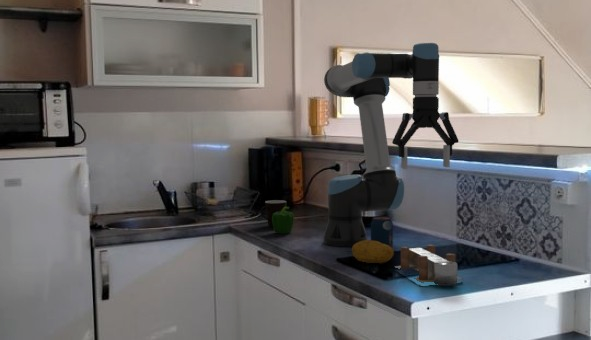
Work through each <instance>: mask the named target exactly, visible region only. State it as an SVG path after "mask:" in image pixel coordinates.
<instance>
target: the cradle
mask: <svg viewBox="0 0 591 340" xmlns="http://www.w3.org/2000/svg"><path fill="white" fill-rule="evenodd" d="M409 249H410V247H409V246H401V247H400V265H398V266H397V265H396V266H394V267H395V268H398V269H400V268H401V269H409ZM426 251H428V252H431V253H433V254H435V255H436V245H434V244H427V245H426ZM445 260H447V261H452V262H456V254H455V253H446V254H445ZM414 279H416V280H417V281H419V282H421V283H424V282H434V280H432V279H430V278H429V277H428V257H427V256H419V277H417V278H414ZM457 279H463V277H460V276H458V275H457Z"/></svg>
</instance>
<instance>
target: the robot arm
mask: <svg viewBox="0 0 591 340" xmlns="http://www.w3.org/2000/svg"><path fill="white" fill-rule="evenodd" d="M439 49H440V48H439V45H438V44H437V43H434V42H420V43H419V42H418V43H415V44H413V46H412V51H411V52H404V53H403V52H387V53H385V52H369V51H368V52H361V53H360V52H359V53H356V54H355V55H354V57H353V58H352V61H350V62H348V63H345V64H344V65H343V64H337V65H334V66H332V67H330V68H329V69H327V71H326V72H325V73H324V77H323V78H324V79H323V82H324V85H325V88H326V89H327V91H329V92H330V93H331V94H332V95H334V96H336V97H341V98H352V99H353V104H354V105H355V106H357V107H358V113H359V121H360V128H361V137H362V143H363V145H362V146H363V151H364V161H365V168H366V170H365V172H364V173H363V174H362V175H361V174H346V175H340V176H336V177H333V178H331V179H329V181H328V186H327V187H328V188H327V189H328V190H327V196H328V200H327V201H328V202H327V203H328V221H327V225H326V228H325V232H324V234H323V243H324V244H326V245H329V246H333V247H353V245H354V244H356V243H358V242H360V241H363V240H368V235H367V232H366V228H365V225H364V222H363V213H364V212H379V211H380V212H381V211H385V212H388V211H392V210H397V209H399V207H400V206H401V205H402V204H403V200H404V195H405V183H404V180H403V178H402V177H400V176H398V175H397V172H396V170H395V169H394V168H392V167H391V160H390V154H389V147H388V146H389V145H388V138H387V131H386V125H385V123H386V122H385V115H384V107H383V104H384V102H385V101H386V97H387V96H388V95H389V92H390V85H391V83H390V82H391V81H390V79H391V78H392V79H400V78H401V79H412V95H413V96H414V97H413V98H412V113H410V112H404V113H402V118H401V119H402V120H401V122H400V124H399V126H398V128H397V131H396V133H395V135H394V136H393V137H394V138H393V140H392V141H391V142H392V144H393V145H396V146H397V147H398V157H399V158H400V161H401V162H400V163H401V165H400V166H401V169H403V170H407V169H408V146H406V145H407V143H408V142H409V141H410V140H411V138H412V136H414V134H415V133H416V132H417V130H419V129H425V128H428V129H429V128H430V129H431V128H432V129H433V130H434V131H435V132H436V133H437V134H438V135H439V138H440V139H441V140H442V141H443V142H444V143H445V144H443V146H442V147H443V148H442V149H443V150H442V153H443V155H442V157H443V158H442V160H443V161H442V166H443V167H444V168H450V167H451V166H450V164H451V163H450V161H451V156H452V155H453V146H454V145H455V144H457V143H459V139H458V136H457V134H456V132H455V129H454V127H453V125H452V123H451V121H450V116H449V112H448V111H446V112H445V111H443V112H440V113H439V107H440V106H439V105H440V104H439V101H440V99H439V97H438V95H439V91H440V90H439V85H440V81H439V76H440V69H439V68H440V67H439V66H440V54H439ZM411 120H413V122H412V123H411V125H410V127H409V128H408V130H407V131H406V129H407V127H408V125H409V123H410V121H411ZM438 120H441V121H442V124H443V126H444V128H445V130H444V129H443V128H442V126H441V124H440V123H439V121H438ZM405 131H406V133H405ZM446 132H447V133H446Z"/></svg>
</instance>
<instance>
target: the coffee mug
mask: <svg viewBox="0 0 591 340" xmlns="http://www.w3.org/2000/svg"><path fill="white" fill-rule="evenodd" d="M264 204H265V206H262V207H261V208H260V214H261V217H262V218H264V219H265V220H267V225H268V228H272V229H274V227H273V223H272V215H273V213H275V212H281V213H282V209H283V208H284V207H287V201H286V200H284V199H283V200H281V199H280V200H279V199H278V200H277V199H274V200H273V199H272V200H265V202H264ZM264 209H266V210H265V211H266V216H265V215H264V214H263V210H264ZM286 210H287V209H285V211H286Z"/></svg>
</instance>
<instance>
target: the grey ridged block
mask: <svg viewBox="0 0 591 340" xmlns="http://www.w3.org/2000/svg"><path fill="white" fill-rule="evenodd" d="M419 256H427V257H428V277H429V278H430V279H432V280H434V283H435V284H438V285H437V286H455V285H457V276H458V263H457V262H456V261H455V262H452V261H447V260H446V258H443V257H441V256H439V255H437V254H436V253H435V254H433V253H431V252H428V251H427V249H424V248H422V247H415V248H413V247H412V248H410V247H409V267H411V268H413V269H415V270H417V271H419Z"/></svg>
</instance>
